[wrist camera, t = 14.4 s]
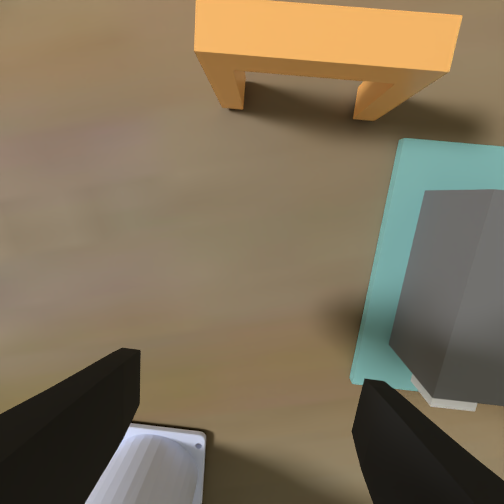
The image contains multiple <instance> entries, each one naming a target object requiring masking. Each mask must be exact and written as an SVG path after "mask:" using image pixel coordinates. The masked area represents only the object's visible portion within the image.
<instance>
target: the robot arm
mask: <svg viewBox="0 0 504 504" xmlns="http://www.w3.org/2000/svg"><path fill="white" fill-rule="evenodd" d="M139 404H140V350H136V349H128V348H121V349H119V350H117V351H115V352H113V353H111V354H109V355H107V356H106V357H104V358H102V359H100V360H99V361H97V362H95V363H93V364H92V365H90V366H88V367H86V368H85V369H83V370H81V371H79V372H78V373H76V374H74V375H72V376H71V377H69V378H67V379H65V380H63V381H62V382H60V383H58V384H56V385H55V386H53V387H51V388H49V389H47V390H45V391H44V392H42V393H40V394H38V395H36V396H34V397H32V398H30V399H28V400H26V401H24V402H23V403H21V404H19V405H17V406H15V407H13V408H11V409H9V410H7V411H5V412H4V413H2V414H0V504H202V497H203V481H204V466H205V450H206V435H205V433H203V432H201V431H193V430H185V429H176V428H168V427H160V426H151V425H143V424H134V423H131V422H132V419H133V417H134V415H135V413H136V411H137V408H138V406H139ZM352 435H353V439H354V443H355V447H356V451H357V455H358V459H359V463H360V467H361V470H362V473H363V476H364V479H365V482H366V484H367V487H368V490H369V493H370V496H371V498H372V501H373V504H504V481H503V480H502V479H501V478H500V477H498V476H497V475H496V474H495V473H493V472H492V471H491V470H490V469H488V468H487V467H486V466H485V465H483V464H482V463H481V462H480V461H478V460H477V459H476V458H475V457H474V456H472V455H471V454H470V453H469V452H467V451H466V450H465V449H464V448H463V447H461V446H460V445H459V444H458V443H457V442H455V441H454V440H453V439H452V438H451V437H450V436H448V435H447V434H446V433H445V432H444V431H442V430H441V429H440V428H439V427H438V426H437V425H436V424H434V423H433V422H432V421H431V420H430V419H429V418H427V417H426V416H425V415H424V414H423V413H422V412H420V411H419V410H418V409H417V408H416V407H415V406H414V405H412V404H411V403H410V402H409V401H408V400H407V399H405V398H404V397H403V396H402V395H401V394H400V393H398V392H397V391H396V390H395V389H394V388H392V387H391V386H390V385H389V384H387V383H386V382H385V381H381V380H373V379H365V378H364V382H363V387H362V391H361V395H360V399H359V403H358V407H357V411H356V416H355V420H354V424H353V428H352ZM198 443H199V444H198Z"/></svg>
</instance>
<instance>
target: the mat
mask: <svg viewBox="0 0 504 504" xmlns="http://www.w3.org/2000/svg"><path fill="white" fill-rule="evenodd" d="M479 189H497V190H504V147H502V146H491V145H479V144H468V143H457V142H445V141H434V140H423V139H412V138H403V139H400V140H399V143H398V147H397V152H396V157H395V162H394V167H393V171H392V176H391V181H390V186H389V191H388V195H387V200H386V205H385V210H384V215H383V219H382V224H381V229H380V234H379V239H378V243H377V248H376V253H375V258H374V263H373V268H372V272H371V277H370V282H369V287H368V292H367V296H366V301H365V306H364V311H363V316H362V320H361V325H360V330H359V335H358V340H357V344H356V349H355V354H354V359H353V364H352V368H351V373H350V380H351V382H352V384H358V385H363V382H364V378H365V379H373V380H381V381H385V382H386V383H387V384H389V385H390V386H391V387H392V388H394V389H402V390H411V391H418V390H417V388H416V387H415V386H414V384H413V383H412V382H411V377H412V372H411V371H410V370H409V369H408V368H407V366H406V365H405V364H404V363H403V361H402V360H401V359H400V358H399V357H398V355H397V354H396V353H395V352H394V350H393V349H392V348H391V347H390V346H389V340H390V336H391V332H392V328H393V323H394V319H395V315H396V311H397V306H398V302H399V298H400V294H401V289H402V285H403V281H404V277H405V273H406V268H407V264H408V260H409V256H410V251H411V247H412V243H413V239H414V234H415V230H416V226H417V222H418V218H419V213H420V209H421V205H422V201H423V196H424V192H425V190H479Z"/></svg>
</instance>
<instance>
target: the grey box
mask: <svg viewBox="0 0 504 504" xmlns="http://www.w3.org/2000/svg"><path fill="white" fill-rule="evenodd" d="M389 346H390V347H391V348H392V349H393V350H394V352H395V353H396V354H397V355H398V357H399V358H400V359H401V360H402V361H403V363H404V364H405V365H406V366H407V368H408V369H409V370H410V371H411V372H412V377H411V382H412V383H413V384H414V386H415V387H416V388H417V390H418V391H419V392H420V393H421V395H422V396H423V397H424V399H425V400H426V401H427V402H428V404H429V405H430V406H431V407H440V408H449V409H458V410H467V411H475V409H476V406H477V403H481V404H490V405H499V406H504V190H497V189H479V190H425V192H424V196H423V201H422V205H421V209H420V213H419V218H418V222H417V226H416V230H415V234H414V239H413V243H412V247H411V251H410V256H409V260H408V264H407V268H406V273H405V277H404V281H403V285H402V289H401V294H400V298H399V302H398V306H397V311H396V315H395V319H394V323H393V328H392V332H391V336H390V340H389Z"/></svg>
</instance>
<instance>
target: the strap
mask: <svg viewBox="0 0 504 504" xmlns="http://www.w3.org/2000/svg"><path fill="white" fill-rule="evenodd" d="M462 16H463V15H451V14H438V13H425V12H412V11H399V10H385V9H372V8H359V7H346V6H333V5H320V4H307V3H294V2H281V1H268V0H196V15H195V43H194V52H195V54H196V56H197V58H198V60H199V62H200V64H201V66H202V68H203V70H204V72H205V74H206V76H207V78H208V80H209V82H210V84H211V86H212V88H213V90H214V92H215V94H216V96H217V98H218V100H219V102H220V104H221V106H222V108H231V109H243V106H244V93H245V80H246V77H245V71H248V72H260V73H272V74H284V75H296V76H308V77H320V78H332V79H344V80H356V81H363V82H362V84H361V85H360V86H359V87H358V91H357V97H356V103H355V109H354V115H353V119H357V120H369V121H375V120H377V119H378V118H380V117H381V116H383V115H384V114H386V113H387V112H389V111H390V110H392V109H393V108H395V107H396V106H398V105H400V104H401V103H403V102H404V101H406V100H407V99H409V98H410V97H412V96H413V95H415V94H416V93H418V92H419V91H421V90H422V89H424V88H425V87H427V86H429V85H430V84H432V83H433V82H435V81H436V80H438V79H439V78H441V77H442V76H444V75H445V74H447V73H448V72H449V71H450V67H451V62H452V58H453V54H454V50H455V45H456V41H457V37H458V33H459V28H460V24H461V20H462Z"/></svg>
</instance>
